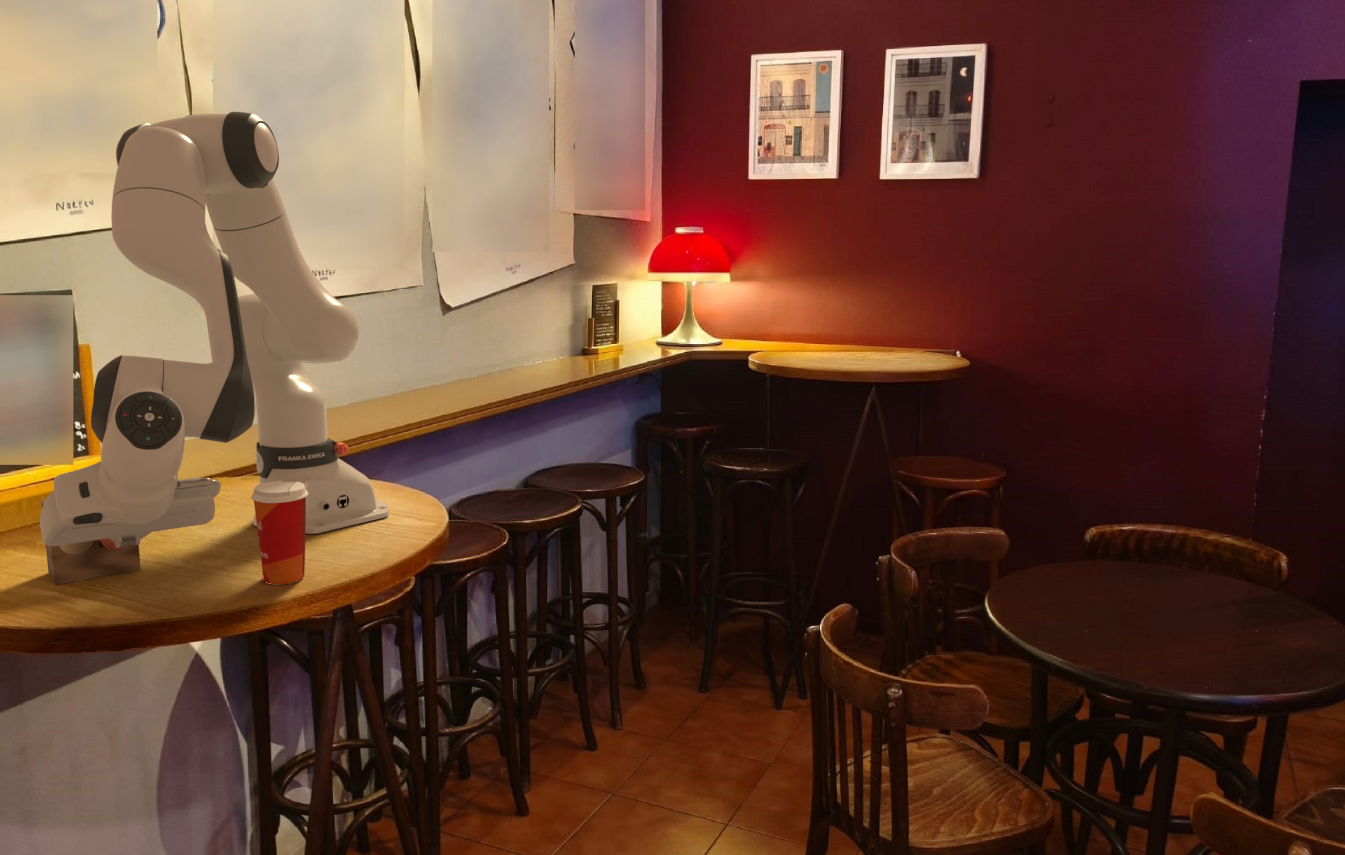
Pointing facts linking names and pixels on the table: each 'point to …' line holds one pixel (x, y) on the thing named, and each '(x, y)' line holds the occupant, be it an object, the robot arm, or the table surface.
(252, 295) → the robot arm
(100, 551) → the socket block
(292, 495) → the paper cup
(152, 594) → the table surface
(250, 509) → the table surface
